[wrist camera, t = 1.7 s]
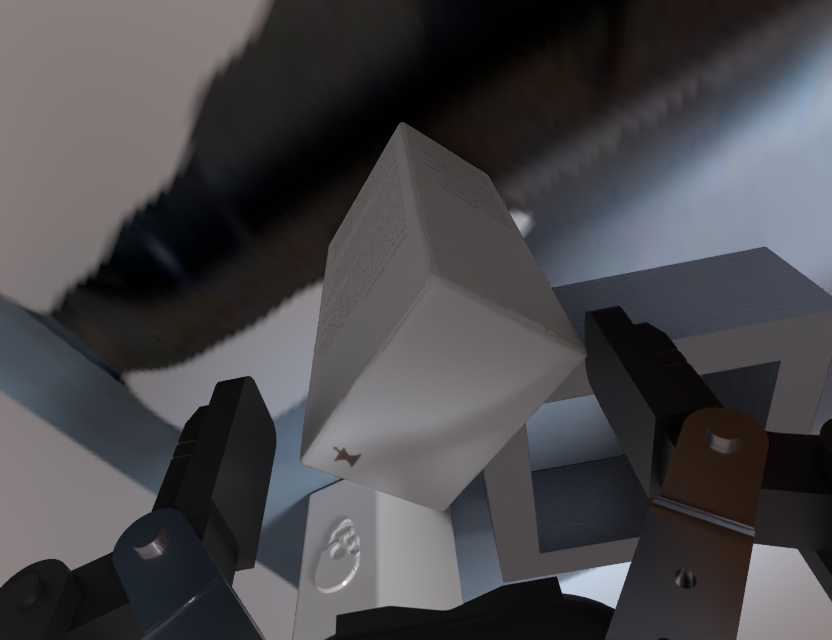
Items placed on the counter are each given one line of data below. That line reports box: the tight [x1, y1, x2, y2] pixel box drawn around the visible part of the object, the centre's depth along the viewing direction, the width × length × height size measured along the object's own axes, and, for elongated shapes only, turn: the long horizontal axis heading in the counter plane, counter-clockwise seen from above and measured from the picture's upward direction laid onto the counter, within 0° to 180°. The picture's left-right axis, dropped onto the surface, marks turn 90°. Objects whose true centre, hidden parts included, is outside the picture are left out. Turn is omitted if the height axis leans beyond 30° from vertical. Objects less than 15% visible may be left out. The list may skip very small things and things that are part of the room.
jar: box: [292, 479, 463, 640], centre depth 28 cm, size 9×8×12 cm
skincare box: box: [300, 122, 587, 511], centre depth 17 cm, size 6×4×12 cm
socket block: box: [481, 247, 832, 582], centre depth 26 cm, size 14×14×5 cm
